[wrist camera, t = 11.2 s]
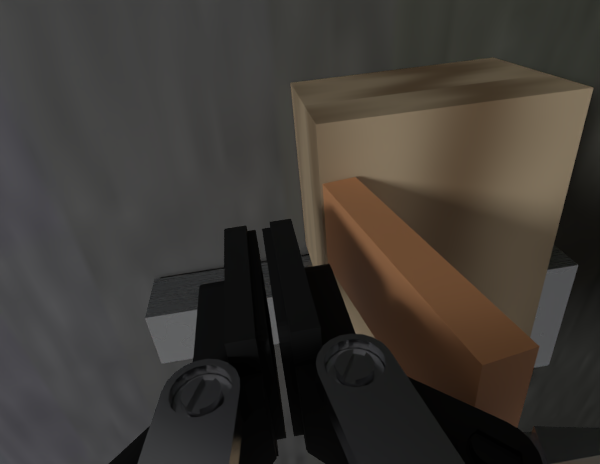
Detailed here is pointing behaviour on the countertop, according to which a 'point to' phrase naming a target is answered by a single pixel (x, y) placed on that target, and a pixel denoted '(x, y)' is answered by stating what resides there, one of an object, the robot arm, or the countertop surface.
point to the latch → (425, 306)
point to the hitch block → (450, 165)
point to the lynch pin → (185, 288)
